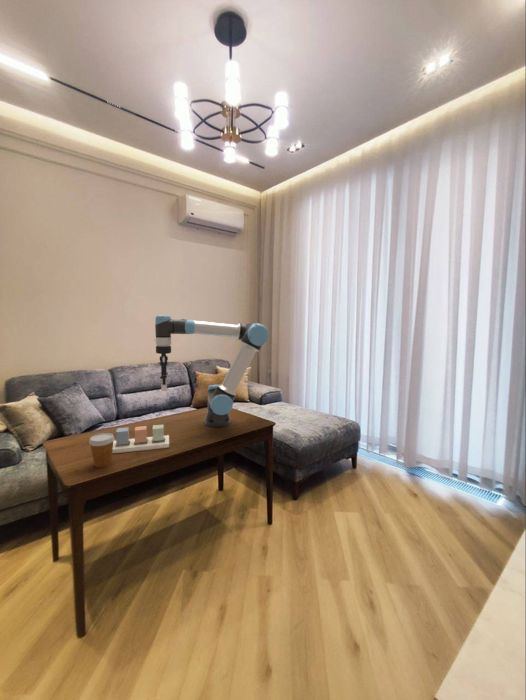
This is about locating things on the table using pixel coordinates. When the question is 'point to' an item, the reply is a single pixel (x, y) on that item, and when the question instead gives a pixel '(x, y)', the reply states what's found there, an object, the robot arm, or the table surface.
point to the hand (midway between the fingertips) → (164, 388)
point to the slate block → (122, 435)
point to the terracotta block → (140, 434)
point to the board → (140, 445)
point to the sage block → (158, 432)
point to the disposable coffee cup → (102, 449)
